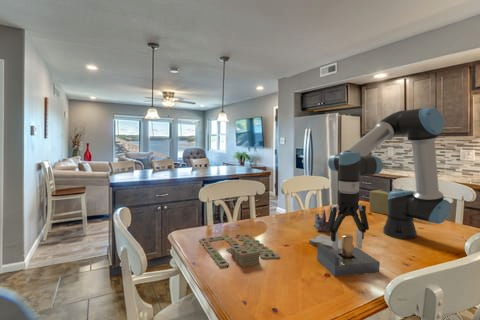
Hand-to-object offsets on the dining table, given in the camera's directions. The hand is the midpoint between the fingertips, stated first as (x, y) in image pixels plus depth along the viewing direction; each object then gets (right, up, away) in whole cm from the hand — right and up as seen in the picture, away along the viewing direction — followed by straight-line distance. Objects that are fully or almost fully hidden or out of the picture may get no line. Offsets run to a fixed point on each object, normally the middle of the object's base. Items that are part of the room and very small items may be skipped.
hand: (347, 248), depth 104 cm
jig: (0, -7, +1) cm, 7 cm away
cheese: (+58, -2, +75) cm, 94 cm away
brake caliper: (+4, -4, +44) cm, 45 cm away
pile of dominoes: (-43, -7, +18) cm, 47 cm away
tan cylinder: (0, -7, +1) cm, 7 cm away
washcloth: (+1, -6, +21) cm, 22 cm away
